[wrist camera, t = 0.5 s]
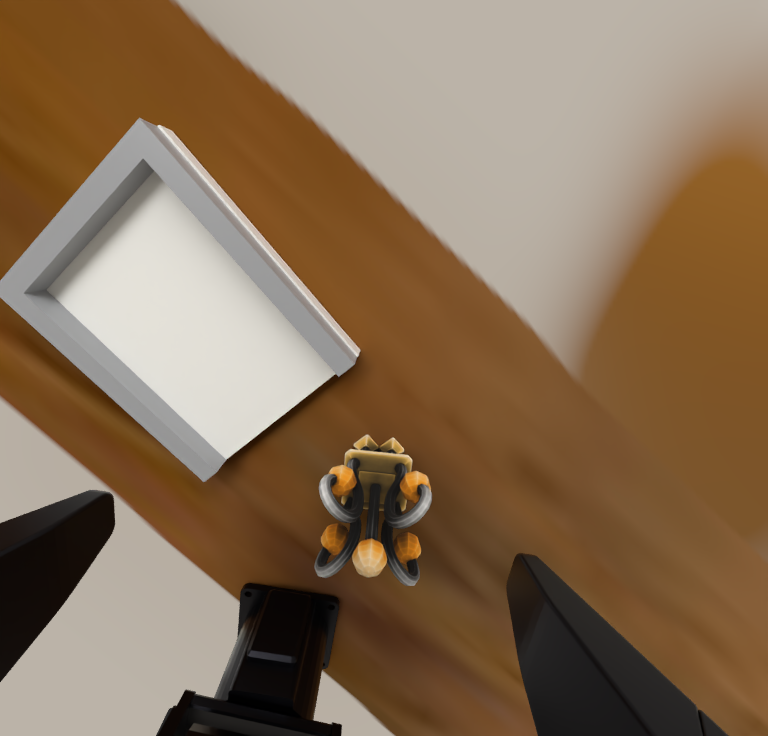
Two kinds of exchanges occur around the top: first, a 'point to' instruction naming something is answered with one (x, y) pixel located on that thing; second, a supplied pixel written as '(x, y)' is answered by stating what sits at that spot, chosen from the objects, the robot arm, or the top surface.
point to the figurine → (373, 511)
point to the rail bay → (176, 303)
